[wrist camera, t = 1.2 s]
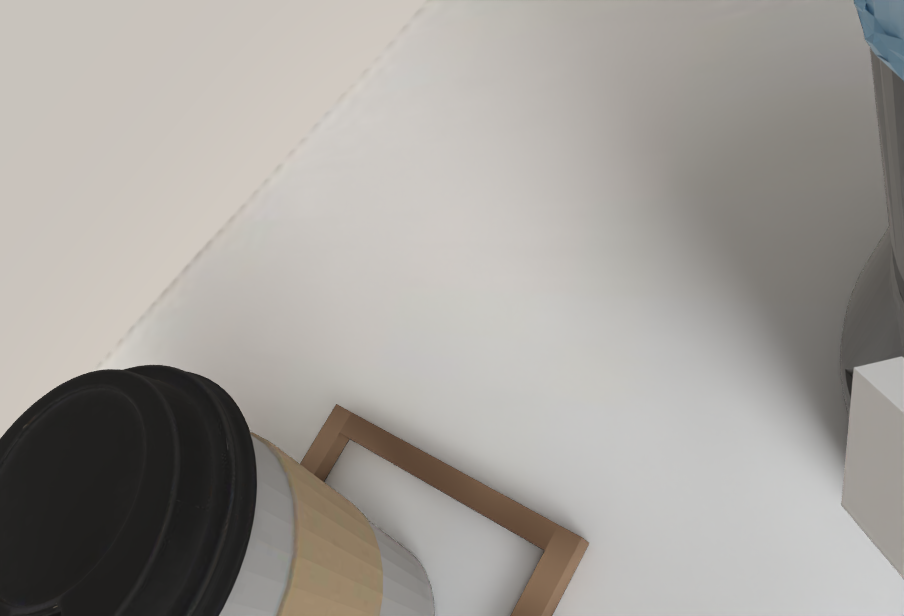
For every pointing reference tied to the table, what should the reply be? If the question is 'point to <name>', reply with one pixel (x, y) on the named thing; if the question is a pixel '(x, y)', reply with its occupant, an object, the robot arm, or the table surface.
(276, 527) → the coffee cup
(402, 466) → the wooden frame
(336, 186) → the table surface
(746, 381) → the table surface
